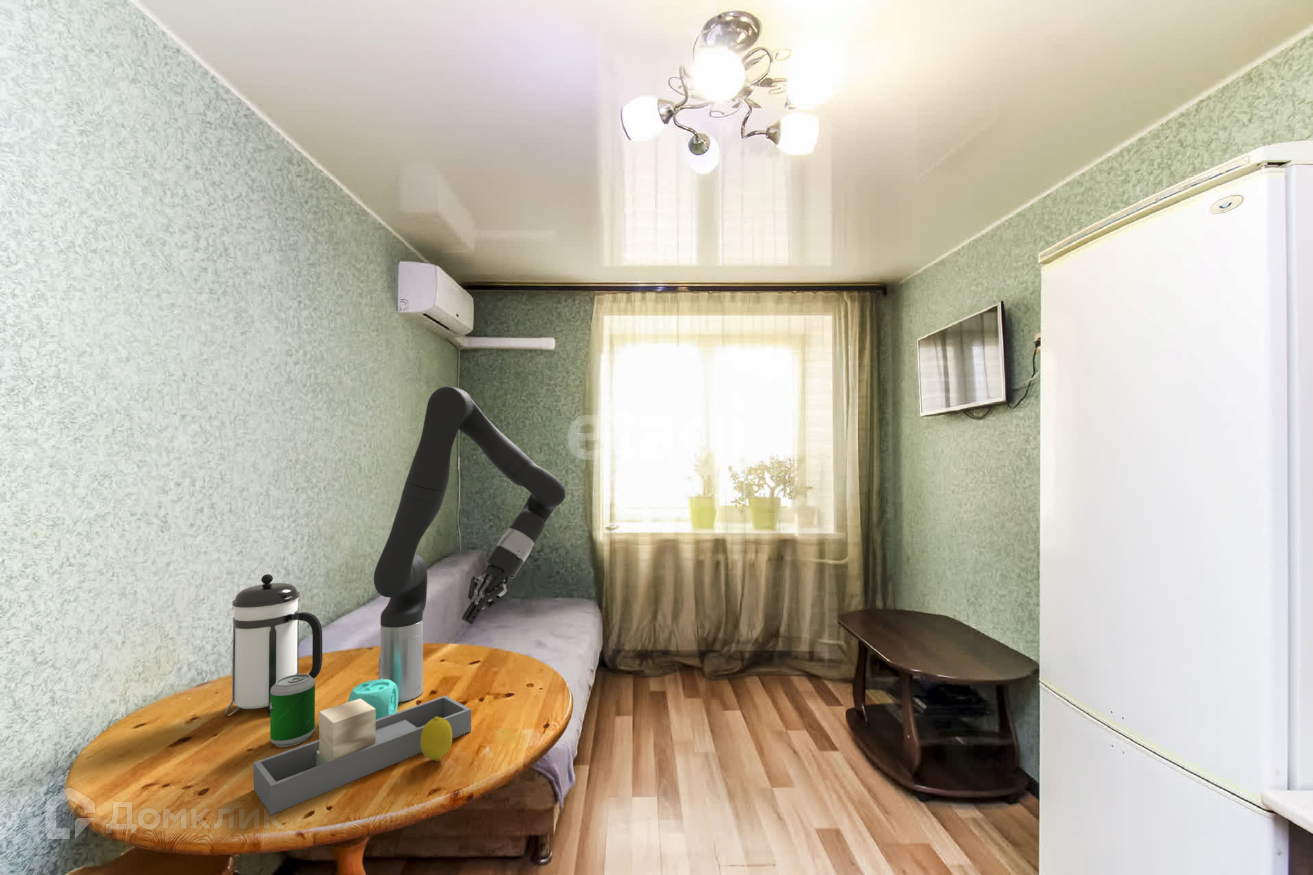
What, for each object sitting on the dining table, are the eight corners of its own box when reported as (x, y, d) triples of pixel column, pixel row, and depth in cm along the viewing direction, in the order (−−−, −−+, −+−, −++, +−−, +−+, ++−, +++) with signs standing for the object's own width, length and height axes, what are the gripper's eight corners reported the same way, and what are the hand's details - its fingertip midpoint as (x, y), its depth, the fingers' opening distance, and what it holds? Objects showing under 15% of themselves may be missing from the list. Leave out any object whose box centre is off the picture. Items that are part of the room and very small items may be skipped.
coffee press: (228, 729, 116) (229, 585, 117) (222, 704, 128) (224, 574, 129) (322, 704, 128) (323, 573, 129) (309, 683, 140) (310, 564, 141)
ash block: (360, 738, 105) (360, 698, 106) (375, 750, 101) (375, 708, 101) (319, 753, 100) (319, 711, 100) (333, 767, 95) (333, 722, 96)
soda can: (323, 733, 114) (323, 674, 114) (288, 752, 107) (289, 688, 107) (296, 728, 116) (297, 670, 117) (260, 746, 109) (261, 684, 109)
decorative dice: (359, 717, 120) (359, 680, 121) (398, 713, 122) (398, 677, 122) (346, 735, 113) (346, 695, 113) (388, 731, 114) (388, 691, 115)
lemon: (433, 772, 99) (433, 726, 99) (414, 763, 102) (413, 719, 102) (458, 757, 103) (458, 714, 104) (439, 749, 106) (439, 707, 107)
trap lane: (445, 716, 120) (445, 695, 120) (471, 731, 113) (470, 709, 113) (253, 789, 94) (253, 762, 95) (271, 814, 87) (271, 785, 88)
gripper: (484, 540, 131) (439, 606, 123) (516, 548, 122) (469, 621, 114) (505, 556, 135) (463, 622, 127) (537, 565, 126) (494, 636, 118)
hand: (466, 621), depth 121 cm, fingers closed
